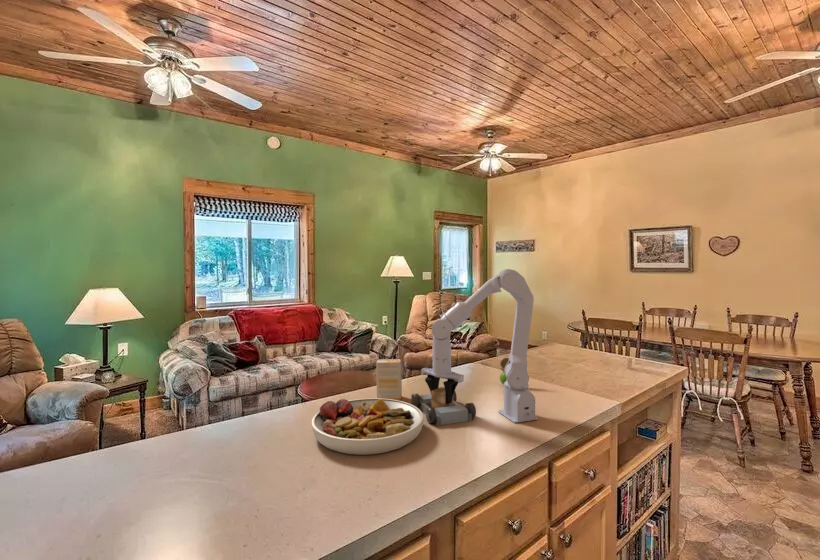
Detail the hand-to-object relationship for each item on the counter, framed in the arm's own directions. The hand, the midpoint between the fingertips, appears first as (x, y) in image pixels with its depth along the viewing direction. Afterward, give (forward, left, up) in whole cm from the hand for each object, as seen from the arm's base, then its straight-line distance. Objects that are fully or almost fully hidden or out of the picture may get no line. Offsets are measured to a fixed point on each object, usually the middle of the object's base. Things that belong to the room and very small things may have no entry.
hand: (442, 401), depth 127 cm
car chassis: (0, 0, -3) cm, 3 cm away
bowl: (-8, +25, -4) cm, 27 cm away
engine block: (0, 0, -2) cm, 2 cm away
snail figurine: (+17, -34, -3) cm, 38 cm away
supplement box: (+18, +12, -4) cm, 22 cm away
